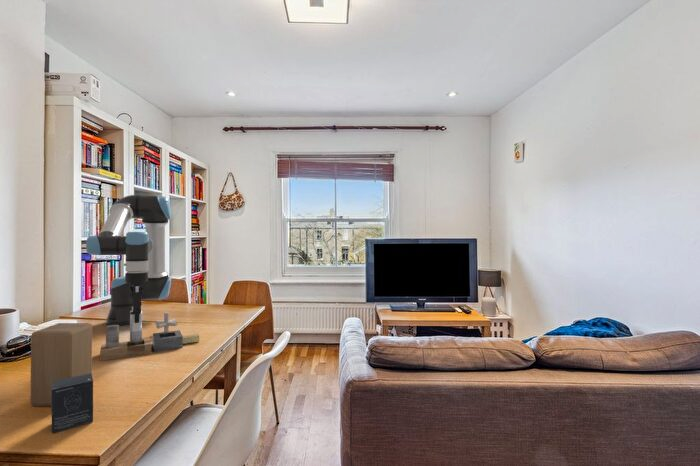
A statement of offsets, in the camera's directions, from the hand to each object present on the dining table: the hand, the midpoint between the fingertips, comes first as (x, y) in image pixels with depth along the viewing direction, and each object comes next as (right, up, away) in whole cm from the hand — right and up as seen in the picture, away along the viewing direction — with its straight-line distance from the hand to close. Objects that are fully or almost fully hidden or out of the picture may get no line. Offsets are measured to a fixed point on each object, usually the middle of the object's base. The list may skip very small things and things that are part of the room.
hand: (136, 326), depth 133 cm
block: (+2, -10, -37) cm, 38 cm away
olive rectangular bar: (+15, -10, +12) cm, 21 cm away
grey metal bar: (0, -10, 0) cm, 10 cm away
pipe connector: (0, -10, +22) cm, 25 cm away
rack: (-4, -10, -2) cm, 11 cm away
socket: (+8, -10, +8) cm, 15 cm away
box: (+15, -11, -49) cm, 52 cm away
